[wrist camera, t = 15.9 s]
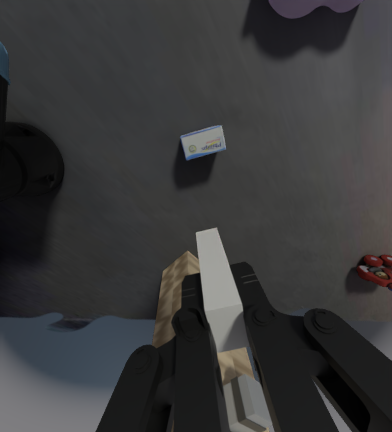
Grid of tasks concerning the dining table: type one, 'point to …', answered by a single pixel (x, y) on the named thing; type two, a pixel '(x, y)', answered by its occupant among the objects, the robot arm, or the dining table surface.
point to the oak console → (171, 302)
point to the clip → (310, 6)
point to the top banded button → (246, 405)
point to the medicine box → (203, 142)
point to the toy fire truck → (377, 270)
